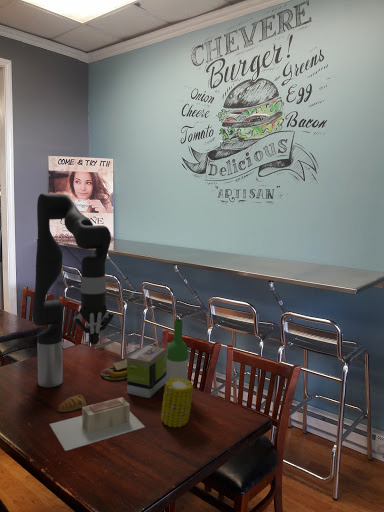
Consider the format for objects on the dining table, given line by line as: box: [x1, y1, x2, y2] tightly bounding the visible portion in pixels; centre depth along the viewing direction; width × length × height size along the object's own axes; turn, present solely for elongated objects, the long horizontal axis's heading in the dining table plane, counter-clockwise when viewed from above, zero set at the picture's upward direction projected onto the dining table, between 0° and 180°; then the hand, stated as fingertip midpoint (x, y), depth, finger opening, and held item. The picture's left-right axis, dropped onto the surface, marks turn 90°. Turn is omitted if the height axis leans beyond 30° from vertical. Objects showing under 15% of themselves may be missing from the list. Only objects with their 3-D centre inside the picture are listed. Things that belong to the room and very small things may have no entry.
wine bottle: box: [166, 318, 189, 382], centre depth 161 cm, size 8×8×30 cm
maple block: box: [81, 396, 131, 433], centre depth 142 cm, size 6×6×14 cm
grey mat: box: [49, 411, 146, 452], centre depth 141 cm, size 17×26×1 cm, turn 123°
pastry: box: [57, 394, 87, 413], centre depth 152 cm, size 9×7×4 cm
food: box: [160, 378, 194, 428], centre depth 144 cm, size 15×12×10 cm
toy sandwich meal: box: [100, 359, 127, 381], centre depth 181 cm, size 12×14×5 cm
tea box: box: [126, 344, 168, 399], centre depth 168 cm, size 15×10×15 cm, turn 157°
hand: (93, 344), depth 136 cm, fingers closed
